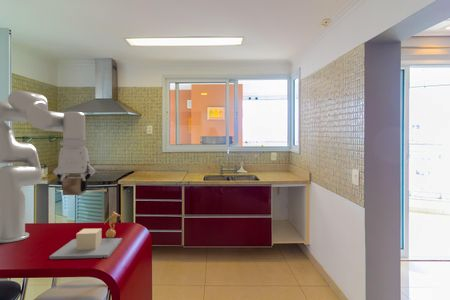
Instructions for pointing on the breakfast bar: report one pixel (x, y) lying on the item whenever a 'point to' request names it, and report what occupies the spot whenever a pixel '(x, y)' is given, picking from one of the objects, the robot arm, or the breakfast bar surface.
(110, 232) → the figurine
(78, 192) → the walnut cube
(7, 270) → the breakfast bar surface
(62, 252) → the base plate
